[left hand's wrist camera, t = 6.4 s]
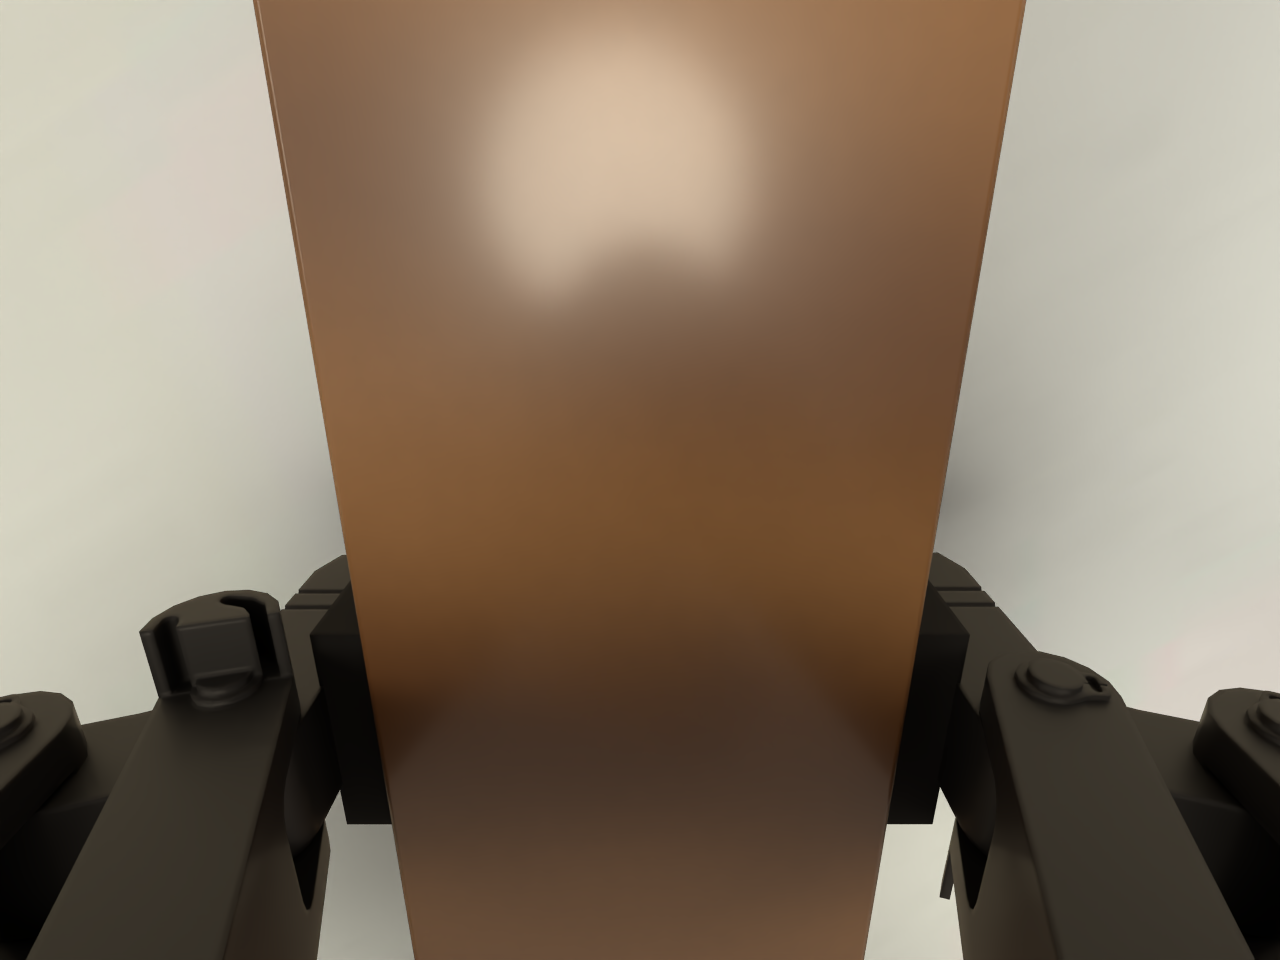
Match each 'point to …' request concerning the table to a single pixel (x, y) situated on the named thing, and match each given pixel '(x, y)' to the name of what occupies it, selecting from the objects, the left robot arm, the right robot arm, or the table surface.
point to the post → (639, 437)
